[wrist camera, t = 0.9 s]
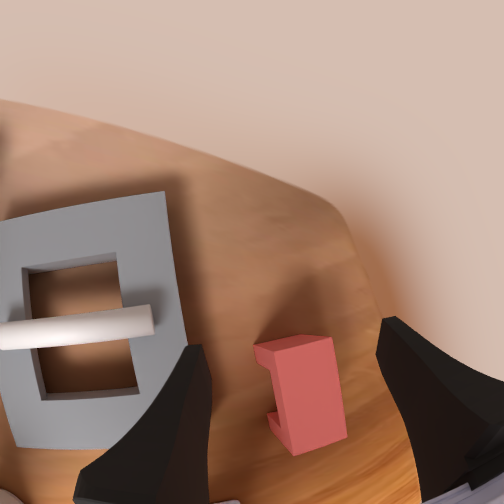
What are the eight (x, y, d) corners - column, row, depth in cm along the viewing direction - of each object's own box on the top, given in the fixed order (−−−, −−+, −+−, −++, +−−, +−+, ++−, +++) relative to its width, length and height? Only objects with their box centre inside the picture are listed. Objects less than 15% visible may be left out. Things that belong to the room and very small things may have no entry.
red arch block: (314, 416, 24) (347, 437, 18) (270, 429, 23) (293, 456, 17) (299, 334, 25) (331, 337, 20) (253, 344, 24) (273, 351, 19)
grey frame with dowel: (205, 424, 22) (211, 447, 17) (31, 436, 18) (6, 454, 14) (166, 205, 25) (163, 179, 20) (1, 234, 21) (-28, 218, 17)
